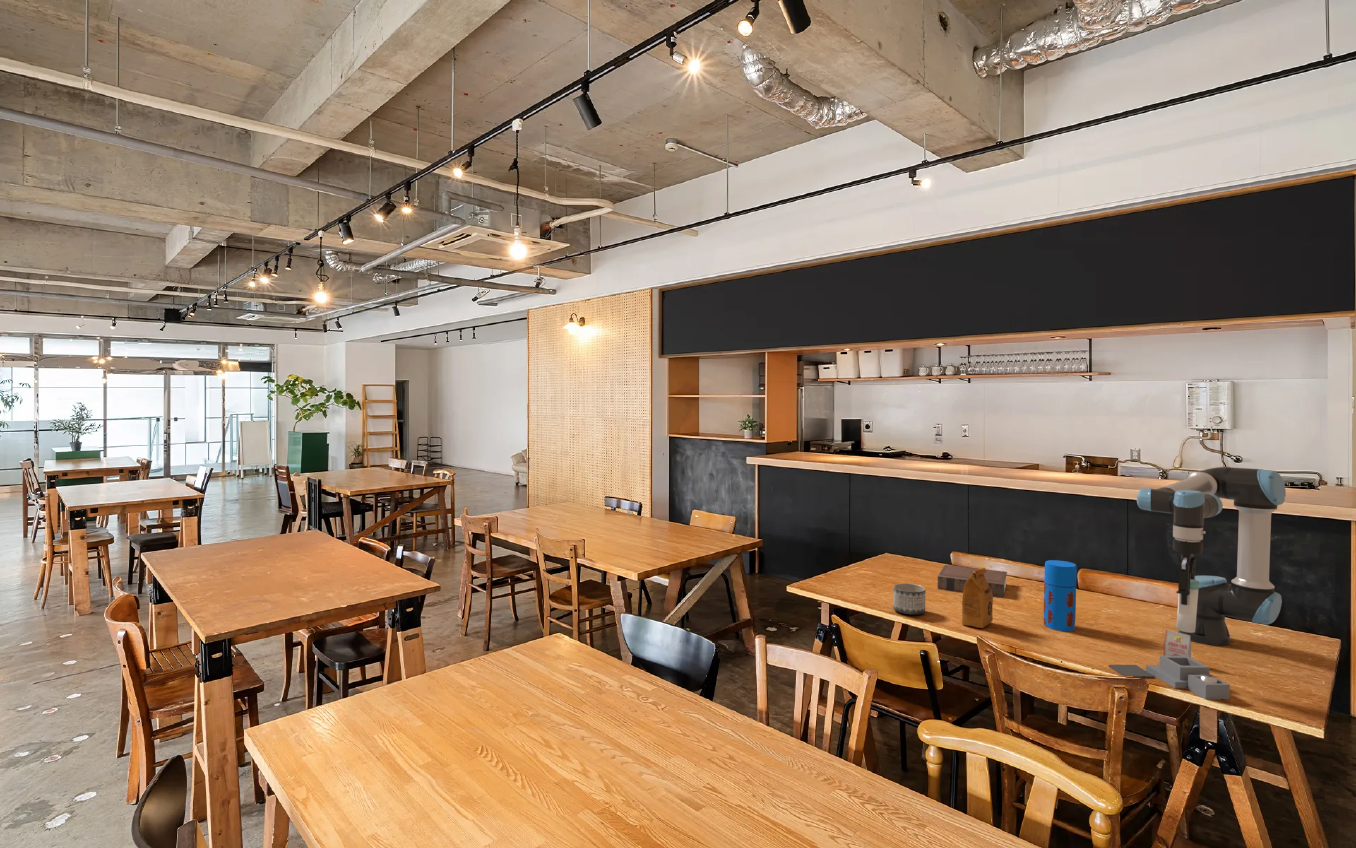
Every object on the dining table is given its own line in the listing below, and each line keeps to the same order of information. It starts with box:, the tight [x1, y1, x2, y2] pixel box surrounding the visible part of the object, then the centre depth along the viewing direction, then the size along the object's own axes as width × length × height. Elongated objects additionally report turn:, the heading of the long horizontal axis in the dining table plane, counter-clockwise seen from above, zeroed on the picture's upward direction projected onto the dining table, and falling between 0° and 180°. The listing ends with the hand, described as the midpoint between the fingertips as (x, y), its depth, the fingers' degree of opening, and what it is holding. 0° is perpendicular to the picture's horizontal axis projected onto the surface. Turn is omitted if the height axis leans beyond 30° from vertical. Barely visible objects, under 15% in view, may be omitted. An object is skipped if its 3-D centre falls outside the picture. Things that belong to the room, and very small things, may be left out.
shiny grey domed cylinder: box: [1200, 673, 1218, 683], centre depth 200 cm, size 4×4×5 cm
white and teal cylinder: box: [1175, 579, 1200, 633], centre depth 209 cm, size 5×5×16 cm
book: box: [937, 564, 1008, 599], centre depth 314 cm, size 24×28×6 cm
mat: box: [1108, 664, 1156, 679], centre depth 217 cm, size 9×9×1 cm
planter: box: [892, 582, 926, 616], centre depth 277 cm, size 13×13×10 cm
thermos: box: [1043, 559, 1078, 632], centre depth 259 cm, size 11×11×25 cm
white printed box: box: [1163, 629, 1192, 658], centre depth 225 cm, size 4×7×10 cm, turn 39°
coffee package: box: [961, 567, 994, 629], centre depth 262 cm, size 10×12×22 cm
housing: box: [1145, 655, 1231, 700], centre depth 207 cm, size 20×14×6 cm
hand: (1185, 612), depth 210 cm, fingers closed on white and teal cylinder, 5 cm apart
